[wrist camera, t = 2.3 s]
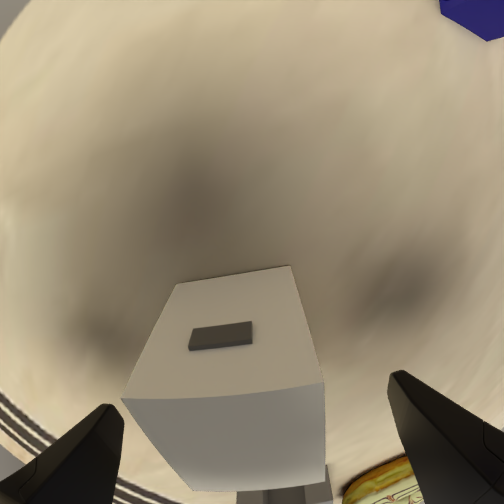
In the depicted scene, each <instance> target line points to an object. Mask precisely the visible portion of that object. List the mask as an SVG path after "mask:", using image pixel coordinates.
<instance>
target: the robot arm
mask: <svg viewBox="0 0 504 504" xmlns="http://www.w3.org/2000/svg"><path fill="white" fill-rule="evenodd" d="M387 395H388V399H389V402H390V406H391V409H392V413H393V416H394V420H395V423H396V427H397V431H398V434H399V437H400V440H401V442H402V445H403V447H404V450H405V452H406V454H407V457H408V459H409V462H410V465H411V467H412V470H413V472H414V475H415V478H416V480H417V483H418V486H419V488H420V491H421V494H422V496H423V499H424V502H425V504H504V432H502V431H501V430H499V429H497V428H495V427H494V426H492V425H490V424H489V423H487V422H485V421H484V422H483V420H482V419H480V418H479V417H477V416H476V415H474V414H472V413H471V412H469V411H468V410H466V409H464V408H463V407H461V406H460V405H458V404H456V403H455V402H453V401H452V400H450V399H448V398H447V397H445V396H444V395H442V394H441V393H439V392H437V391H436V390H434V389H433V388H431V387H430V386H428V385H426V384H425V383H423V382H422V381H420V380H419V379H417V378H415V377H414V376H412V375H411V374H409V373H408V372H406V371H404V370H399V371H396V372H392V373H391V374H390V377H389V383H388V389H387ZM123 433H124V420H123V418H122V416H121V415H120V413H119V412H118V411H117V409H116V408H115V406H114V405H112V404H101V405H100V406H99V407H97V408H96V409H95V410H94V411H92V412H91V413H90V414H89V415H88V416H86V417H85V418H84V419H83V420H82V421H80V422H79V423H78V424H77V425H75V426H74V427H73V428H72V429H70V430H69V431H68V432H67V433H66V434H64V435H63V436H62V437H61V438H59V439H58V440H57V441H56V442H54V443H53V444H52V445H51V446H49V447H48V448H47V449H46V450H44V451H43V452H42V453H41V454H39V455H38V456H37V457H35V458H34V459H33V460H32V461H30V462H29V463H28V464H26V465H25V466H24V467H22V468H21V469H20V470H18V471H16V472H15V473H13V474H12V475H10V476H9V477H7V478H6V479H4V480H2V481H0V504H112V502H113V496H114V491H115V485H116V480H117V475H118V470H119V465H120V460H121V451H122V441H123Z"/></svg>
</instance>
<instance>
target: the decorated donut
mask: <svg viewBox="0 0 504 504" xmlns="http://www.w3.org/2000/svg"><path fill="white" fill-rule="evenodd" d="M423 500H424V499H423V496H422V494H421V491H420V488H419V486H418V483H417V480H416V478H415V475H414V472H413V470H412V467H411V465H410V462H409V459H408V457H407V456H404V457H401V458H399V459H396V460H393V461H392V462H390V463H388V464H385V465H382V466H380V467H378V468H376V469H373V470H371V471H370V472H368V473H367V474H365V475H363V476H362V477H360V478H359V479H357V480H356V481H354V482H353V483H352V484H351V485H350V487H349V488H348V489H347V491H346V492H345V494H344V497H343V500H342V504H418V503H420V502H422V501H423Z"/></svg>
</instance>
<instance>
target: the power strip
mask: <svg viewBox="0 0 504 504" xmlns="http://www.w3.org/2000/svg"><path fill="white" fill-rule="evenodd" d="M236 504H333V496H332V491H331V485H330V480H329V475H328V469H327V465H325V482H320V483H314V484H308V485H302V486H295V487H287V488H278V489H268V490H254V491H237V502H236Z"/></svg>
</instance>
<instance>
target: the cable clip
mask: <svg viewBox="0 0 504 504" xmlns="http://www.w3.org/2000/svg"><path fill="white" fill-rule="evenodd" d="M439 2H440V9H441V14H442V15H444V16H445V17H447V18H449V19H451V20H453V21H455V22H456V23H458V24H460V25H461V26H463V27H465V28H466V29H468V30H470V31H471V32H473V33H474V34H476V35H478V36H479V37H481V38H482V39H484V40H485V41H491V40H494V39H497V38H501V37H504V0H439Z"/></svg>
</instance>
